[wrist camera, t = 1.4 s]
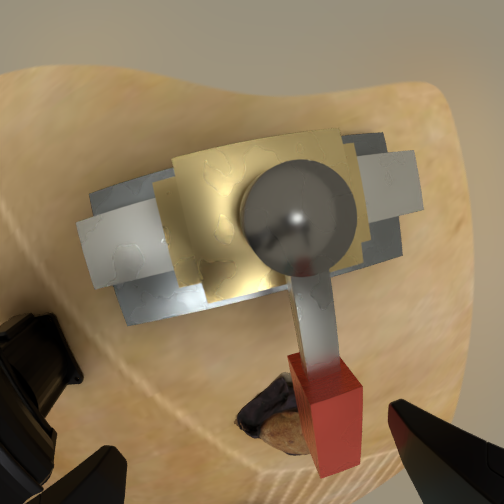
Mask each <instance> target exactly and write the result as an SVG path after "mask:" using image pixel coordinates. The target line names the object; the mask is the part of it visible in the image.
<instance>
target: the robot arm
mask: <svg viewBox="0 0 504 504" xmlns="http://www.w3.org/2000/svg"><path fill="white" fill-rule="evenodd" d="M49 318H51V320H52V321H50V319H49ZM77 377H78V378H79V379H78V378H77ZM83 379H84V378H83V375H82V374H81V372H80V370H79V368H78V366H77V364H76V362H75V360H74V358H73V356H72V354H71V352H70V349H69V347H68V345H67V343H66V341H65V338H64V336H63V334H62V331H61V329H60V327H59V324H58V322H57V319H56V317H55V315H54V314H52V313H45V314H41V315H36V316H34V315H33V314H32V313H27V314H22V315H18V316H14V317H12V318H11V319H9V320H8V321H6V322H5V323H4V324H2V325H1V326H0V504H23V503H24V502H25V501H26V500H27V499H29V498H30V497H32V496H33V495H35V494H37V493H40V492H42V491H43V489H44V488H43V487H42V485H43V484H44V483H45V482H47V480H48V479H49V478H50V476H51V474H52V470H53V469H54V454H55V446H56V439H57V432H56V431H55V430H54V428H52V427H51V426H50V425H49V424H48V422H47V421H46V420H45V418H46V416H47V415H48V413H49V411H50V410H51V408H52V407H53V405H54V404H55V402H56V401H57V399H58V398H59V396H60V395H61V393H62V392H63V390H64V389H65V387H66V386H67V385H70V384H81V383H82V381H83ZM388 424H389V428H390V430H391V433H392V436H393V438H394V441H395V444H396V446H397V449H398V452H399V455H400V457H401V460H402V463H403V465H404V467H405V469H406V470H407V473H408V475H409V476H410V478H411V480H412V482H413V484H414V486H415V488H416V490H417V492H418V494H419V496H420V498H421V500H422V502H423V504H504V448H501V447H499V446H497V445H494V444H492V443H490V442H486V441H485V440H483V439H481V438H479V437H477V436H475V435H473V434H470V433H468V432H466V431H464V430H462V429H460V428H458V427H456V426H454V425H452V424H450V423H448V422H446V421H444V420H442V419H440V418H438V417H436V416H434V415H432V414H430V413H428V412H426V411H424V410H423V409H421V408H419V407H417V406H415V405H413V404H411V403H409V402H407V401H406V400H404V399H398V400H396V401H393V402H391V403H390V404H389V408H388ZM126 474H127V461H126V459H125V458H124V457H123V455H122V454H121V453H120V452H119V451H118V449H117V448H116V447H115V446H110V445H104V446H102V447H101V448H100V449H99V450H97V451H96V452H95V453H93V454H92V455H91V456H90V457H88V458H87V459H86V460H85V461H83V462H82V463H81V464H79V465H78V466H77V467H76V468H74V469H73V470H72V471H70V472H69V473H68V474H66V475H65V476H64V477H62V478H61V479H60V480H58V481H57V482H56V483H54V484H53V485H52V486H50V487H49V488H47V489H46V490H45V491H43V492H42V493H41V494H39V495H38V496H36V497H35V498H33V499H32V500H30V501H29V502H27V503H26V504H124V499H125V487H126Z"/></svg>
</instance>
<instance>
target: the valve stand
mask: <svg viewBox="0 0 504 504" xmlns="http://www.w3.org/2000/svg"><path fill="white" fill-rule="evenodd" d="M171 159H172V163H173V168H170V169H166V170H163V171H159V172H155V173H152V174H149V175H145V176H142V177H139V178H135V179H132V180H129V181H126V182H123V183H119V184H116V185H113V186H110V187H107V188H104V189H102V190H99V191H96V192H93V193H90V194H89V197H90V202H91V207H92V211H93V215H94V217H91V218H88V219H85V220H82V221H79V222H76V226H77V230H78V234H79V238H80V242H81V246H82V249H83V253H84V257H85V260H86V263H87V267H88V270H89V273H90V276H91V280H92V283H93V286H94V289H99V288H103V287H107V286H111V285H113V287H114V290H115V293H116V296H117V299H118V302H119V304H120V307H121V310H122V313H123V315H124V318H125V321H126V323H127V326H131V325H136V324H141V323H146V322H151V321H156V320H161V319H165V318H170V317H175V316H179V315H184V314H188V313H193V312H197V311H202V310H206V309H210V308H215V307H219V306H223V305H227V304H231V303H236V302H240V301H244V300H248V299H252V298H256V297H260V296H264V295H268V294H271V293H275V292H279V291H283V290H287V289H288V287H287V282H286V277H285V275H284V274H281V273H278V272H276V271H274V270H272V269H271V268H269V267H268V266H267V265H265V264H264V263H263V262H262V261H261V260H260V259H259V258H258V256H257V255H256V254H255V252H254V251H253V250H252V248H251V247H250V246H249V244H248V242H247V241H246V239H245V237H244V235H243V233H242V229H241V225H240V205H241V201H242V198H243V196H244V193H245V191H246V190H247V188H248V187H249V185H250V184H251V183H252V182H253V180H254V179H255V178H257V177H258V176H259V175H260V174H262V173H264V172H265V171H267V170H269V169H271V168H272V167H274V166H276V165H278V164H281V163H283V162H286V161H290V160H297V159H307V160H313V161H317V162H320V163H322V164H324V165H326V166H328V167H330V168H331V169H333V170H334V171H336V172H337V173H338V174H339V175H340V176H341V177H342V178H343V179H344V180H345V182H346V183H347V185H348V186H349V188H350V190H351V192H352V194H353V197H354V200H355V203H356V208H357V227H356V232H355V236H354V239H353V241H352V244H351V245H350V247H349V249H348V251H347V252H346V254H345V255H344V256H343V257H342V259H341V260H340V261H339V262H338V263H336V264H335V265H334V266H333V267H331V268H330V269H329V271H330V277H334V276H337V275H341V274H344V273H348V272H351V271H354V270H358V269H361V268H364V267H368V266H371V265H374V264H377V263H381V262H384V261H387V260H390V259H393V258H397V257H400V256H403V254H402V242H401V232H400V223H399V216H400V215H405V214H409V213H413V212H417V211H421V210H424V208H423V200H422V193H421V186H420V180H419V174H418V169H417V163H416V158H415V153H414V150H410V151H399V152H389V153H388V152H387V147H386V143H385V138H384V134H383V132H381V133H368V134H356V135H346V136H341V134H340V130H339V128H331V129H322V130H314V131H306V132H299V133H292V134H285V135H278V136H272V137H266V138H261V139H255V140H250V141H244V142H239V143H234V144H230V145H225V146H220V147H216V148H211V149H207V150H203V151H198V152H194V153H190V154H186V155H182V156H179V157H175V158H171Z"/></svg>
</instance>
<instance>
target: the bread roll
mask: <svg viewBox="0 0 504 504" xmlns="http://www.w3.org/2000/svg"><path fill="white" fill-rule="evenodd" d="M288 374H289V375H288ZM234 424H236V425H237V426H239V428H240V429H241V430H243V431H244V432H245V433H246V434H247V435H249V436H251V437H252V438H260V439H262V440H263V441H264V442H265V443H267V444H269V445H271V446H272V447H274V448H276V449H279V450H281V451H283V452H285V453H286V454H288V455H294V456H296V455H306V454H311V453H310V451H309V448H308V446H307V443H306V441H305V438H304V436H303V433H302V429H301V423H300V418H299V413H298V408H297V403H296V397H295V392H294V387H293V382H292V377H291V373H287V372H283V373H281V374H280V375H279V376H278V377H277V378H276V379H275V380H274V381H273V382H272V383H271V384H270V385H269V386H268V387H267V388H266V389H265V390H264V391H263V392H262V393H261V394H260V395H259V396H258V397H256V398H255V399H254V400H252V401H250V402H249V403H248V404H247V405H246V406H245V407H243V408H242V410H241V412H240V413H239V414H238V416H237V419H236V420H235V421H234Z"/></svg>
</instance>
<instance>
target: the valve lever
mask: <svg viewBox="0 0 504 504" xmlns="http://www.w3.org/2000/svg"><path fill="white" fill-rule="evenodd" d="M240 225H241V229H242V233H243V235H244V237H245V239H246V241H247V242H248V244H249V246H250V247H251V248H252V250H253V251H254V252H255V254H256V255H257V256H258V258H259V259H260V260H261V261H262V262H263V263H264V264H265V265H267V266H268V267H269V268H271V269H272V270H274V271H276V272H278V273H281V274H284V275H285V277H286V282H287V287H288V292H289V297H290V303H291V308H292V313H293V319H294V324H295V330H296V335H297V341H298V346H299V352H298V353H295V354H292V355H288V356H287V357H288V362H289V367H290V372H291V377H292V382H293V387H294V392H295V397H296V403H297V408H298V413H299V418H300V423H301V429H302V433H303V436H304V438H305V441H306V443H307V446H308V448H309V451H310V453H311V456H312V458H313V461H314V463H315V466H316V468H317V471H318V473H319V476H320V478H324V477H327V476H330V475H333V474H336V473H339V472H341V471H344V470H347V469H349V468H352V467H354V466H357V465H359V464H360V457H361V441H362V412H363V386H362V385H361V384H360V382H359V381H358V380H357V378H356V377H355V376H354V375H353V373H352V372H351V371H350V369H349V368H348V367H347V366H346V364H345V363H344V362H343V360H342V359H341V358H340V356H339V345H338V335H337V326H336V317H335V309H334V301H333V293H332V285H331V278H330V271H329V269H330V268H331V267H333V266H334V265H335V264H336V263H338V262H339V261H340V260H341V259H342V257H343V256H344V255H345V254H346V252H347V251H348V249H349V247H350V245H351V244H352V241H353V239H354V236H355V232H356V227H357V208H356V203H355V200H354V197H353V194H352V192H351V190H350V188H349V186H348V185H347V183H346V182H345V180H344V179H343V178H342V177H341V176H340V175H339V174H338V173H337V172H336V171H334V170H333V169H331V168H330V167H328V166H326V165H324V164H322V163H320V162H317V161H313V160H307V159H297V160H290V161H286V162H283V163H281V164H278V165H276V166H274V167H272V168H271V169H269V170H267V171H265V172H264V173H262V174H260V175H259V176H258V177H257V178H255V179H254V180H253V182H252V183H251V184H250V185H249V187H248V188H247V190H246V191H245V193H244V196H243V198H242V201H241V205H240Z"/></svg>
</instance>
